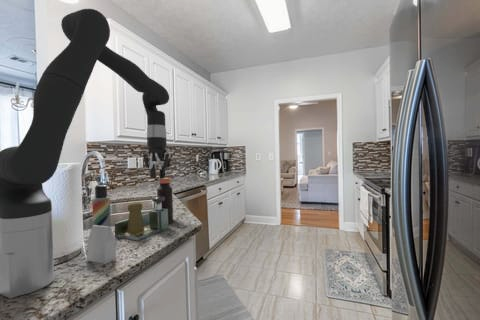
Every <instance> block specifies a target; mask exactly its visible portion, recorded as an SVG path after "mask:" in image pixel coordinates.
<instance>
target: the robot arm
mask: <svg viewBox="0 0 480 320" xmlns="http://www.w3.org/2000/svg"><path fill="white" fill-rule="evenodd" d="M60 22H61V24H60V26H61V29H62V32H63V33H64V36H65V37H66V38H67V40H69V41H70V42H69V43H68V45H67V46H66V47H65V48H64V49H63V50H62V51H61V52H60V53H59V54H58V55H57V56H56V57H55V58H54V59H53V60H52V61H51V62H50V63H48V65H47V67H46V68H45V70H44V71H43V73H42V74H41V76H40V79H39V81H38V83H37V84H36V87H35V90H34V92H33V99H32V100H33V104H32V105H33V109H32V110H33V113H32V114H33V117H32V119H31V123H30V126H29V128H28V130H27V131H26V134H25V136H23V137H24V138H23V139H22V141H21V143H20V144H19V145H16V146H9V147H7V148H4V149H2V150H0V295H1V296H3V297H6V298H8V299H10V300H11V299H13V298H17V297H19V296H24V295H27V294H31V293H34V292H36V291H38V290H42V289H44V288H45V287H47V286H48V285H50V284H51V283H52V282H53V281H54V280H55V266H54V265H55V263H54V261H55V259H54V239H53V236H54V235H53V207H52V206H53V205H52V199H50V198H49V197H48V195H47V194H46V193H45V191H44V188H43V184H44V183H46V182H47V181H49V180H50V179H52V178H53V176H54V174H55V173H56V171H57V169H58V165H59V162H60V159H61V154H62V150H63V146H64V144H65V141H66V137H67V133H68V131H69V129H70V126H71V124H72V122H73V119H74V116H75V114H76V112H77V109H78V107H79V106H80V103H81V101H82V98H83V96H84V94H85V90H86V88H87V85H88V82H89V80H90V78H91V75H92V73H93V71H94V68H95V65H96V63H97V61H98V62H99V63H101V64H102V65H104V66H105V67H106V68H108V69H110V70H111V71H113V72H114V73H115V74H117V75H118V76H119V77H120V78H121V79H123V81H125V82H126V83H127V84H128V85H129V86H131V88H133V89H134V90H135V91H136V92H138V93H142V96H141V97H142V104H143V106H144V111H145V113H146V121H147V122H146V123H147V124H146V125H147V126H146V142H147V144H146V147H147V149H148V151H147V153H143V154H142V156H143V157H142V159H143V161H144V165H145V167H146V168H147V169H149V177H150V178H151V179H156V178H157V170H156V166H157V164H158V167H159V169H158V170H159V178H160V179H163V178H166V169H169V168H170V167H171V162H172V157H173V154H172V153H169V152H167V150H166V149H167V147H168V145H167V129H166V127H167V126H166V114H165V112H164V111H161V110H158V108H157V106H163V105H166V104H168V102H169V100H170V94H169V92H168V90H167V89H166V88H165V87H164V86H163V85H162V84H160V83H159V82H158V81H155V80H154V79H152V78H151V77H150V76H148V75H147V74H146V73H145V71H143V70H142V69H141V68H140V66H138V65H137V64H136V63H134V62H133V61H131V60H130V59H128V58H127V57H124V56H122V55H121V54H119V53H117V52H116V51H113V50H112V49H111V48H109V47H108V46H106V45H107V44H108V42H109V40H110V36H111V28H110V24H109V22H108V20H107V17H106V16H105V15H104V14H103V13H102V12H100V11H98V10H96V9H95V8H94V9H93V8H82V9H79V10H77V11H74V12H70V13H69V14H66V15H64V16H63V17H62V19H61V21H60Z"/></svg>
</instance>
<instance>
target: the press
mask: <svg viewBox="0 0 480 320" xmlns="http://www.w3.org/2000/svg"><path fill="white" fill-rule="evenodd" d="M142 220H143V226H144V231H142V232H139V233H127V229H128V221H129V218H127V219H124V220H120V221H117V222H114V237H115V238H120V239H127V240H131V241H136V242H139V241H141V240H143V239H146V238H148V237H151V236H152V235H153V236H154V235H155V234H157V233H160V232H163V230H164V231H165V230H168V229H169V228H170V225H169V222H168V209H163V208H162V211H156V208H154V209H150V210H148V212H147V213H144V214H142Z"/></svg>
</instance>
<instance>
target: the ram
mask: <svg viewBox="0 0 480 320" xmlns="http://www.w3.org/2000/svg"><path fill="white" fill-rule="evenodd" d="M151 200H152V202H153V203H155V204H154V205H155V208H154V209H156V211H162V202H161V201H164V197H157V196H154V197H151Z"/></svg>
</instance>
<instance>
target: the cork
mask: <svg viewBox="0 0 480 320" xmlns="http://www.w3.org/2000/svg"><path fill="white" fill-rule="evenodd" d="M127 210H128V212H129V213H128V219H129V221H128V229H127V233H139V232H142V231H144V226H143V220H142V215H143V214H142V210H143V204H142V203H141V202H138V201H137V202H136V201H135V202H134V201H133V202H130V203H129V204H128V205H127Z"/></svg>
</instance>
